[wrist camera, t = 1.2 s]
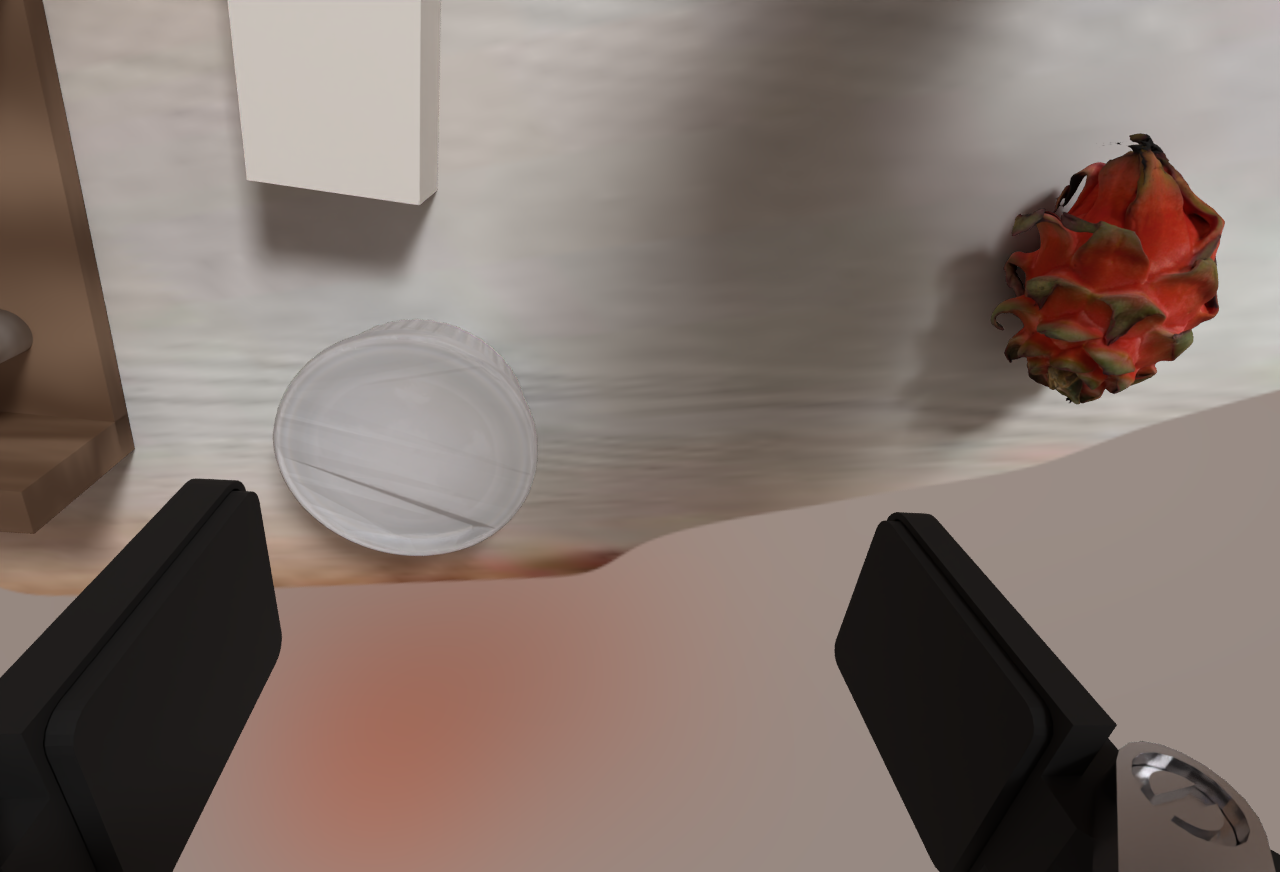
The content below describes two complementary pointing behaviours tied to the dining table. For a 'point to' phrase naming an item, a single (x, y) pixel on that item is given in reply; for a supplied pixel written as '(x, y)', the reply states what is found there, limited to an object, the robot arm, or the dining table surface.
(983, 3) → the dining table surface
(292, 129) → the shelf board
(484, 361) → the ramekin
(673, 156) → the dining table surface
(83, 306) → the peg frame
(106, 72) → the dining table surface
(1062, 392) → the dragon fruit
